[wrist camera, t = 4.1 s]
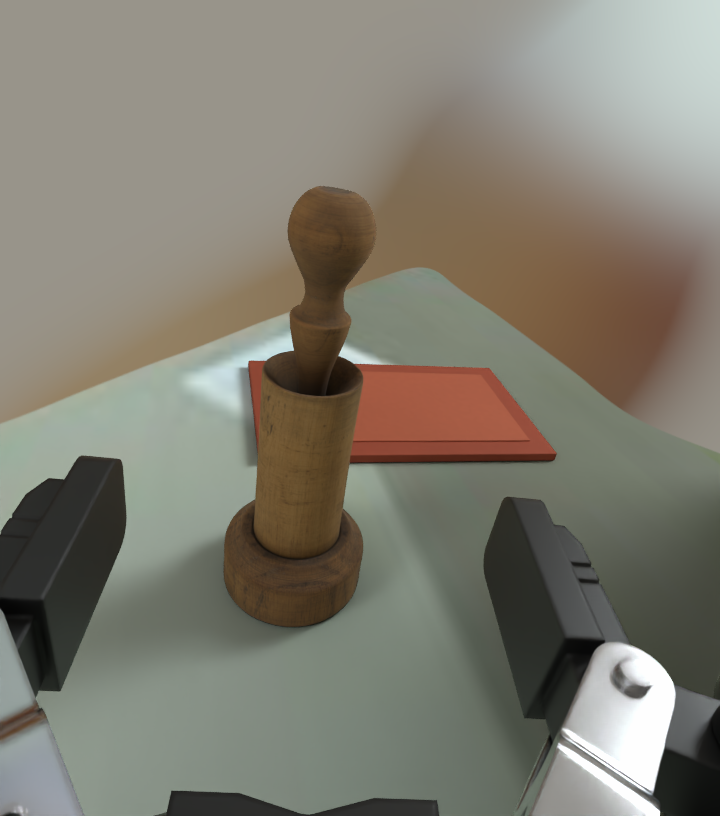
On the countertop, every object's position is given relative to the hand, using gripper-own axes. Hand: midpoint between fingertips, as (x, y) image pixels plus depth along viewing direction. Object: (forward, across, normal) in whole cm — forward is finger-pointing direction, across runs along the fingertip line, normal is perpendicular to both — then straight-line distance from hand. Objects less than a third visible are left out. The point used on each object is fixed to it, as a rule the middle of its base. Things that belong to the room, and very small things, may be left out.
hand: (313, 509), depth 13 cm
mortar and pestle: (+11, 0, +14) cm, 18 cm away
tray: (+27, -6, +14) cm, 31 cm away
